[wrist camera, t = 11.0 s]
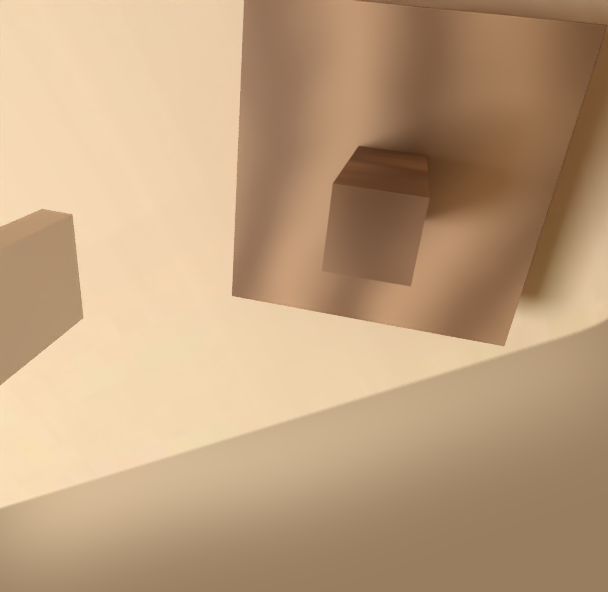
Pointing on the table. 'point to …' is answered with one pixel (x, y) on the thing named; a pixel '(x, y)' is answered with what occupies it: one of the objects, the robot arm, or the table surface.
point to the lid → (401, 158)
